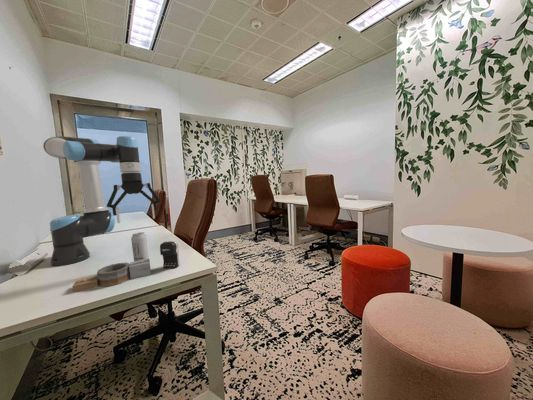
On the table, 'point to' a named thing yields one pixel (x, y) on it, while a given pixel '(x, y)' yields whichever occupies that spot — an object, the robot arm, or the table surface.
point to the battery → (170, 254)
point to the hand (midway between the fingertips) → (137, 220)
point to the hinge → (114, 275)
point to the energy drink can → (140, 246)
